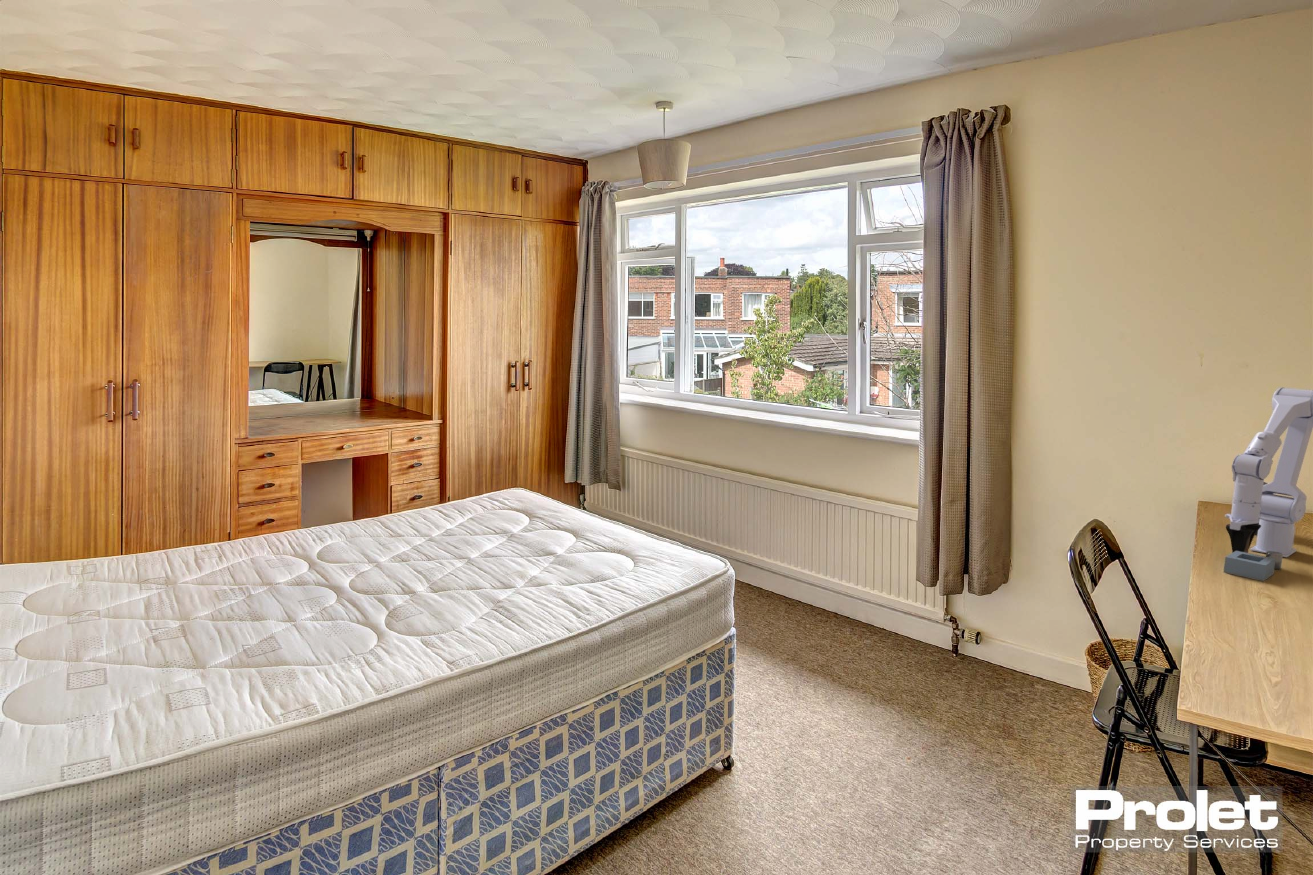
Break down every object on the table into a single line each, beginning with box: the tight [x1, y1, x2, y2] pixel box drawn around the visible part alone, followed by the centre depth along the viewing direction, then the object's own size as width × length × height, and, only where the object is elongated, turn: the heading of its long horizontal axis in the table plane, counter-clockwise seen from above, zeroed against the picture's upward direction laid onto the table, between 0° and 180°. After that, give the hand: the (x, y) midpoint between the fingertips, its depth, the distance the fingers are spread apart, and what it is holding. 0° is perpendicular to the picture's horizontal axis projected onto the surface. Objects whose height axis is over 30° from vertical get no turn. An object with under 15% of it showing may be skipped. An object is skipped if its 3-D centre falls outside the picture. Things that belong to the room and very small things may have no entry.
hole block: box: [1223, 551, 1275, 582], centre depth 185 cm, size 8×8×4 cm
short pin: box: [1265, 551, 1284, 571], centre depth 189 cm, size 3×3×4 cm
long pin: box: [1231, 537, 1250, 553], centre depth 194 cm, size 3×3×7 cm
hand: (1240, 551), depth 194 cm, fingers closed on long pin, 3 cm apart
